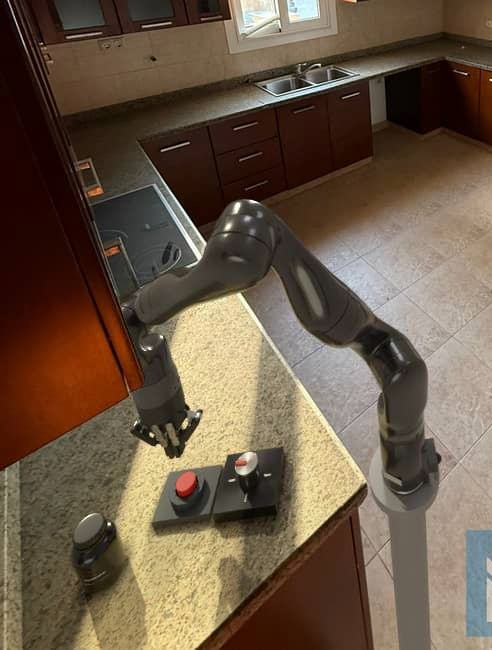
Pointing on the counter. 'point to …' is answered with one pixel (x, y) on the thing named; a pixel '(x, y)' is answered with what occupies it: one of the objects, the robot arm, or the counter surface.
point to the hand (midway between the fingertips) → (177, 453)
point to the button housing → (188, 498)
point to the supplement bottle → (97, 553)
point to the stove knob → (248, 470)
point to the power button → (186, 484)
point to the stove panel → (253, 501)
